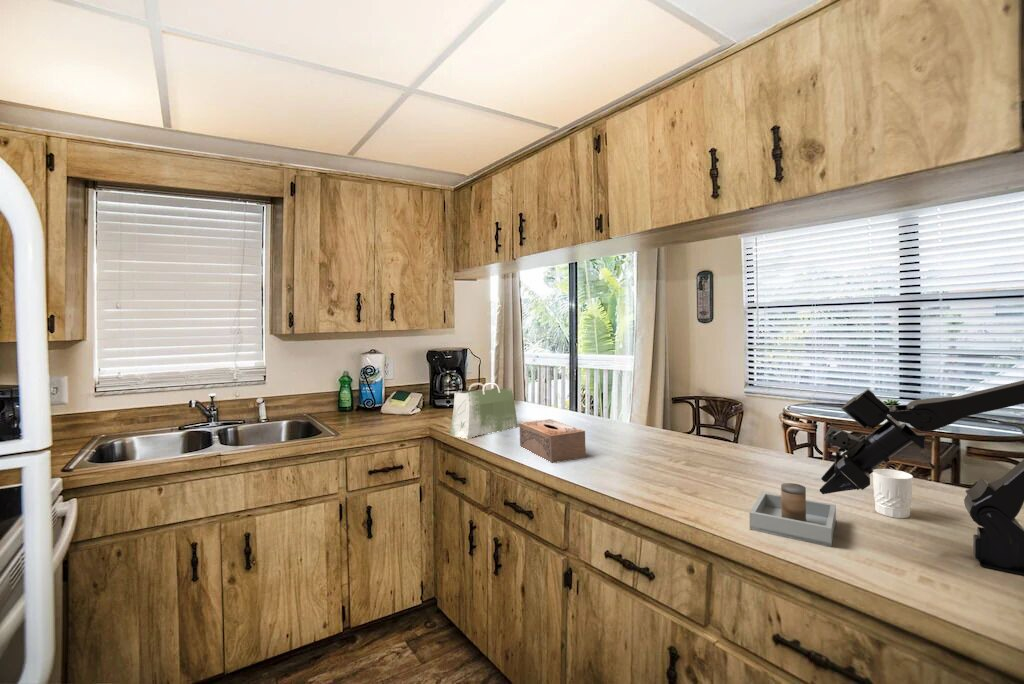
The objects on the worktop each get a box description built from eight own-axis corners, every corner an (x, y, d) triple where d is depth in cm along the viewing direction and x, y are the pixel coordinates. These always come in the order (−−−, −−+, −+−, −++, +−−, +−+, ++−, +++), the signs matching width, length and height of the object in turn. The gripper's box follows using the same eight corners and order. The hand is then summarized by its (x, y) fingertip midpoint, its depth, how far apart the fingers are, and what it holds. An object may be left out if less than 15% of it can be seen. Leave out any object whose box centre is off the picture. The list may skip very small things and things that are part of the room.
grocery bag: (499, 423, 239) (497, 377, 238) (518, 427, 230) (517, 379, 229) (448, 435, 217) (446, 384, 216) (467, 439, 207) (466, 387, 206)
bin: (835, 521, 115) (835, 504, 115) (831, 546, 102) (831, 528, 102) (762, 507, 124) (761, 492, 124) (749, 529, 112) (749, 512, 112)
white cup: (894, 506, 123) (894, 468, 122) (921, 518, 115) (921, 478, 114) (864, 507, 122) (864, 469, 122) (890, 520, 114) (890, 479, 114)
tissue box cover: (585, 457, 175) (585, 431, 175) (551, 463, 169) (550, 435, 169) (551, 442, 199) (550, 419, 198) (520, 447, 193) (519, 422, 192)
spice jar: (810, 523, 112) (810, 487, 112) (797, 528, 110) (796, 491, 109) (790, 515, 116) (789, 481, 116) (776, 520, 114) (776, 485, 114)
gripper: (849, 409, 114) (796, 449, 120) (849, 423, 98) (788, 468, 105) (891, 445, 109) (834, 485, 116) (898, 466, 94) (832, 510, 101)
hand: (821, 486), depth 110 cm, fingers open, 9 cm apart
